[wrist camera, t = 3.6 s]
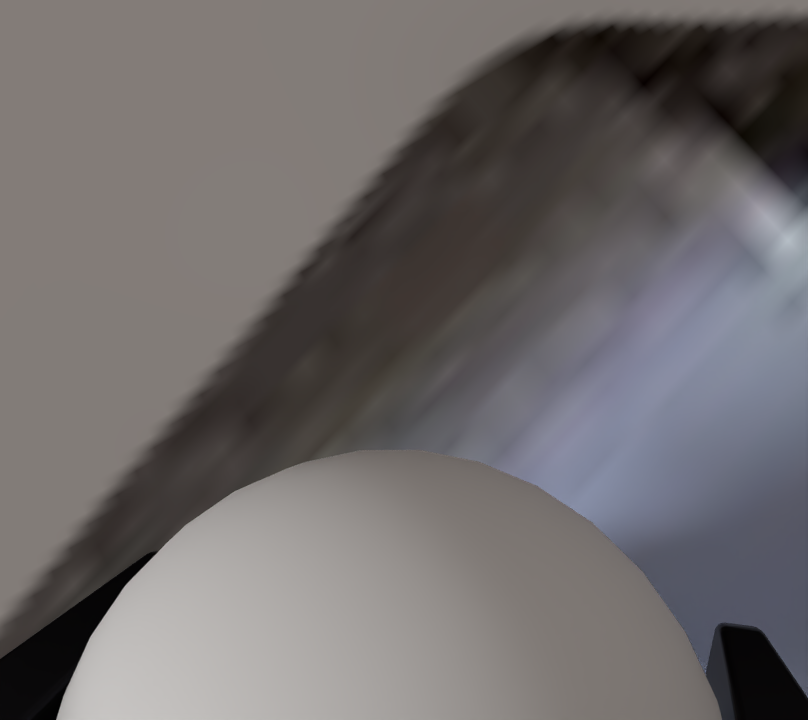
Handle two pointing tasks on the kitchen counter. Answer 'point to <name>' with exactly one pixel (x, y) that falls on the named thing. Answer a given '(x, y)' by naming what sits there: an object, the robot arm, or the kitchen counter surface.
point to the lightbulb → (389, 608)
